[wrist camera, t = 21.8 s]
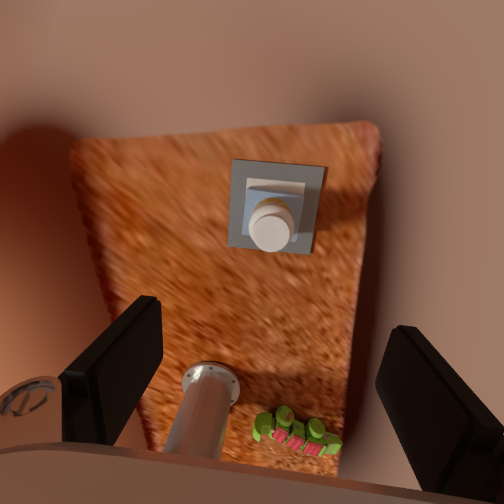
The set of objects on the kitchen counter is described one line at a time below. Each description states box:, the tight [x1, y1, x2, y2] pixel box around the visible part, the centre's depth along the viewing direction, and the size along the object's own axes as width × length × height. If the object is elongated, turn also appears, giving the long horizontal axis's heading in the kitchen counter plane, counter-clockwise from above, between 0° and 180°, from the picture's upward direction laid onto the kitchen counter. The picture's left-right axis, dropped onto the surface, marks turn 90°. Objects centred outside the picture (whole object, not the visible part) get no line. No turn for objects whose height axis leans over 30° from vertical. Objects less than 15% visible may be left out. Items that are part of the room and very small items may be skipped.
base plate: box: [228, 159, 325, 255], centre depth 40 cm, size 14×14×1 cm
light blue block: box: [242, 186, 305, 242], centre depth 38 cm, size 6×8×5 cm
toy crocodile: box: [252, 405, 343, 457], centre depth 53 cm, size 20×7×6 cm, turn 67°
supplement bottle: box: [249, 197, 294, 252], centre depth 31 cm, size 5×5×10 cm
